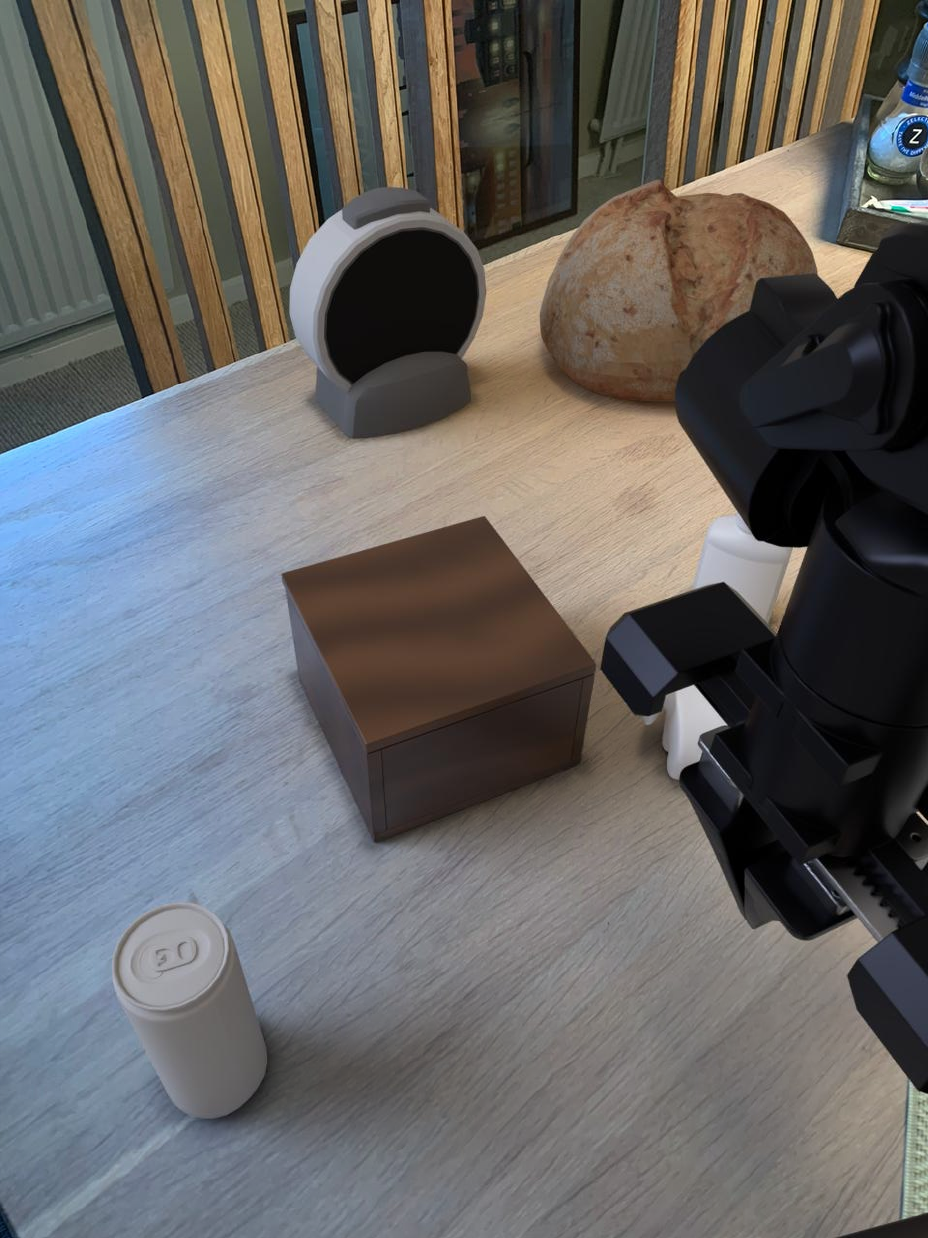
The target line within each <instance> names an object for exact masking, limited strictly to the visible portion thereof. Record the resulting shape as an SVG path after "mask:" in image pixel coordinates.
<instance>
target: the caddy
mask: <svg viewBox="0 0 928 1238" xmlns="http://www.w3.org/2000/svg"><path fill="white" fill-rule="evenodd" d="M285 596H286V603H287V608H288V615H289V621H290V629H291V635H292V641H293V649H294V654H295V655H294V656H295V662H296V668H297V675H298V681H299V683H300V685H301V688H302V690H303V692H304V694H305V696H306V698H307V700H308V703H309V705H310V707H311V710H312V711H313V713H314V716H315V718H316V720H317V722H318V725H319V726H320V729H321V731H322V733H323V736H324V737H325V740H326V742H327V744H328V746H329V747H330V750H331V753H332V754H333V757H334V759H335V761H336V763H337V766H338V767H339V771H340V772H341V774H342V776H343V778H344V780H345V782H346V785H347V787H348V789H349V791H350V794H351V796H352V798H353V800H354V802H355V804H356V806H357V809H358V811H359V813H360V815H361V818H362V819H363V821H364V824H365V826H366V828H367V831H368V832H369V834H370V838H371V839H372V841H373V843H374V844H375V843H378V842H380V841H383V840H386V839H388V838H390V837H391V838H392V837H393V836H396V835H398V834H401V833H404V832H407V831H409V830H412V829H414V828H417V827H420V826H422V825H425V824H427V823H430V822H433V821H435V820H437V819H440V818H443V817H447V816H448V815H451V814H453V813H456V812H459V811H461V810H464V809H466V808H470V807H471V806H474V805H476V804H480V803H482V802H484V801H487V800H490V799H492V798H495V797H498V796H500V795H504V794H506V793H509V792H511V791H513V790H516V789H518V788H519V789H520V788H521V787H524V786H526V785H529V784H532V783H534V782H537V781H539V780H543V779H544V778H548V777H550V776H552V775H556V774H559V773H560V772H564V771H565V770H568V769H572V768H573V767H576V766H578V765H581V762H582V754H583V749H584V744H585V738H586V732H587V731H586V730H587V725H588V718H589V713H590V706H591V702H592V701H591V700H592V696H593V695H592V694H593V688H594V682H595V677H596V675H595V674H596V673H594V674H591V675H588V676H585V677H583V678H580V679H577V680H574V681H571V682H568V683H566V684H563V685H560V686H557V687H554V688H551V689H549V690H546V691H543V692H540V693H537V694H534V695H532V696H529V697H526V698H523V699H520V700H517V701H514V702H512V703H509V704H506V705H503V706H500V707H497V708H495V709H492V710H489V711H486V712H483V713H480V714H478V715H475V716H472V717H469V718H466V719H463V720H461V721H458V722H455V723H452V724H449V725H446V726H443V727H441V728H438V729H435V730H432V731H429V732H426V733H424V734H421V735H418V736H415V737H412V738H409V739H407V740H404V741H401V742H398V743H395V744H392V745H390V746H387V747H384V748H381V749H378V750H375V751H373V752H370V753H367V752H366V751H365V749H364V747H363V745H362V743H361V741H360V739H359V737H358V735H357V733H356V731H355V729H354V727H353V724H352V722H351V720H350V718H349V716H348V714H347V712H346V710H345V708H344V706H343V704H342V702H341V700H340V698H339V696H338V694H337V692H336V690H335V688H334V686H333V684H332V682H331V680H330V678H329V676H328V674H327V672H326V670H325V668H324V666H323V664H322V662H321V660H320V658H319V656H318V654H317V652H316V649H315V647H314V645H313V643H312V641H311V639H310V637H309V635H308V633H307V631H306V629H305V627H304V625H303V623H302V621H301V619H300V617H299V615H298V613H297V611H296V609H295V607H294V605H293V603H292V601H291V599H290V597H289V595H288V593H287V591H286V590H285Z"/></svg>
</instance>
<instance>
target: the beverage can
mask: <svg viewBox="0 0 928 1238" xmlns="http://www.w3.org/2000/svg"><path fill="white" fill-rule="evenodd" d="M111 961H112V962H111V974H112V984H113V987H114V990H115V994H116V998H117V999H118V1001H119V1003H120V1005H121V1007H122V1009H123V1011H124V1012H125V1014H126V1017H127V1018H128V1020H129V1022H130V1024H131V1026H132V1028H133V1030H134V1033H135V1034H136V1036H137V1038H138V1039H139V1042H140V1043H141V1045H142V1047H143V1049H144V1051H145V1053H146V1055H147V1057H148V1059H149V1061H150V1063H151V1064H152V1067H153V1068H154V1071H155V1072H156V1074H157V1076H158V1078H159V1080H160V1081H161V1084H162V1086H163V1088H164V1089H165V1091H166V1093H167V1095H168V1097H169V1098H170V1100H171V1101H172V1102H173V1104H174V1105H175V1107H177V1109H178V1110H180V1111H182V1112H183V1113H184V1114H185V1115H188V1116H191V1117H193V1118H197V1119H207V1120H213V1119H218V1118H222V1117H225V1116H227V1115H228V1116H229V1114H231V1113H233V1112H235V1111H236V1110H238V1109H240V1108H241V1107H242V1106H243V1105H244V1104H245V1103H246V1102H248V1100H250V1099H251V1097H252V1096H253V1095H254V1094H255V1092H256V1091H257V1089H259V1087H260V1086H261V1083H262V1081H263V1079H264V1077H265V1075H266V1072H267V1065H268V1053H267V1052H268V1051H267V1046H266V1043H265V1038H264V1036H263V1032H262V1030H261V1026H260V1022H259V1019H258V1017H257V1013H256V1010H255V1006H254V1003H253V1000H252V997H251V993H250V990H249V987H248V982H247V980H246V977H245V974H244V971H243V967H242V964H241V960H240V957H239V954H238V951H237V947H236V944H235V941H234V939H233V936H232V934H231V932H230V930H229V928H228V927H227V926H226V925H225V924H224V922H223V921H222V919H220V918H219V916H218V915H217V914H216V913H215V912H214V911H212V910H211V909H209V908H208V907H206V906H204V905H200V904H198V903H195V902H194V903H193V902H188V901H187V902H185V901H175V902H171V903H165V904H161V905H159V906H157V907H154V908H152V909H149V910H148V911H146V912H144V913H143V914H141V915H140V916H138V918H136V919H134V920H133V922H132V923H130V925H128V927H127V928H126V929H125V930H124V931H123V932H122V935H121V936H120V938H119V940H118V942H117V943H116V946H115V948H114V951H113V955H112V959H111Z"/></svg>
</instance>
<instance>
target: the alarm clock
mask: <svg viewBox="0 0 928 1238" xmlns="http://www.w3.org/2000/svg"><path fill="white" fill-rule="evenodd" d="M485 271H486V270H485V266H484V264H483V261H482V258H481V256H480V253H479V251H478V248H477V247H476V246H475V244H474V243H473V242H472V240H471V239H470V238H469V236H468V235H467V234H466V233H465V232H464V230H462V229H461V228H460V227H458V226H456V225H455V224H454V223H453V222H451V221H450V220H448V219H447V218H446V217H445V216H443V215H442V214H441V213H439V212H438V211H436V209H433V208H432V207H431V201H430V200H429V199H427V198H426V197H425V196H424V195H422V194H421V193H420V192H418V191H417V190H414V189H410V188H405V187H395V186H386V187H385V186H384V187H383V186H382V187H376V188H373V189H370V190H368V191H365V192H363V193H361V194H359V195H357V196H355V197H354V198H352V199H351V200H350V201H348V202H347V203H346V204H345V205H344V206H343V207H342V209H340V210H339V211H337V212H336V213H335V214H333V215H331V216H330V217H328V219H326V221H325V222H324V223H323V224H322V225H321V226H320V227H319V228H318V229H317V231H316V232H315V233H314V234H313V235H312V236H311V237H310V238H309V240H308V242H307V243H306V245H305V247H304V249H303V251H302V253H301V255H300V257H299V259H298V260H297V262H296V265H295V269H294V273H293V275H292V276H293V277H292V280H291V283H290V288H289V317H290V321H291V325H292V329H293V333H294V337H295V339H296V340H297V341H298V343H299V345H300V347H301V349H302V350H303V351H304V353H305V356H307V357H308V358H309V359H310V361H311V362H312V363H313V364H314V365H315V366H316V377H315V379H316V380H315V397H314V401H315V403H317V404H318V406H319V407H320V408H321V409H322V410H323V411H324V412H325V413H326V414H327V416H328V418H330V420H332V422H333V423H334V424H335V425H336V426H337V427H338V428H339V430H340V431H341V432H342V433H343V434H344V435H345V437H348V438H351V439H358V438H359V439H360V438H375V437H381V436H386V435H387V436H388V435H393V434H398V433H402V432H403V433H404V432H407V431H410V430H414V429H418V428H422V427H425V426H427V425H430V424H432V423H435V422H437V421H440V420H442V419H444V418H446V417H448V416H450V415H452V414H454V413H455V412H458V411H459V410H461V409H463V408H464V407H465V406H466V405H468V404H469V403H470V402H472V394H471V386H470V378H469V371H468V370H469V369H468V363H467V362H466V361H465V360H464V359H463V357H464V356H465V354H466V353H467V351H468V349H469V348H470V347H471V345H472V343H473V341H474V339H475V338H476V335H477V333H478V329H479V327H480V324H481V322H482V319H483V316H484V311H485V304H486V297H487V282H486V272H485Z"/></svg>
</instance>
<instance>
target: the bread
mask: <svg viewBox="0 0 928 1238" xmlns="http://www.w3.org/2000/svg"><path fill="white" fill-rule="evenodd" d="M817 267H818V266H817V263H816V260H815V257H814V254H813V251H812V249H811V247H810V245H809V243H808V241H807V240H806V238H805V237H804V236H803V234H802V232H801V231H800V230H799V229H798V227H797V226H796V225H795V223H794V222H793V221H792V220H791V218H790V217H789V216H788V214H786V212H784V211H783V210H782V209H780V208H778V207H776V206H775V205H773V204H772V203H770V202H767V201H764V200H762V199H759V198H756V197H752V196H750V195H747V194H745V193H743V192H736V193H730V194H721V193H716V192H715V193H714V192H703V193H695V194H688V195H687V194H686V195H680V196H677V195H675V194H674V192H672V191H671V190H670V189H669V188H667V186H665V184H664V182H663V181H662V180H661V179H654V180H652V181H649V182H646V183H645V184H642V185H640V186H637V187H635V188H632V189H630V190H627V191H625V192H622V193H620V194H617V195H615V196H613V197H611V198H610V199H609V200H607V201H606V202H604V203H603V204H602V205H600V206H599V207H597V208H596V209H595V210H594V211H593V212H592V213H591V214H589V216H587V217H586V218H585V219H584V220H583V221H582V222H581V223H580V225H579V226H578V227H577V228H576V230H575V231H574V232H573V233H572V235H571V237H570V238H569V240H568V241H567V243H566V244H565V246H564V247H563V250H562V251H561V253H560V255H559V257H558V259H557V261H556V264H555V266H554V268H553V270H552V273H551V274H550V276H549V279H548V281H547V285H546V288H545V292H544V295H543V298H542V302H541V306H540V310H539V316H538V317H539V328H540V331H539V332H540V335H541V338H542V341H543V345H544V346H545V349H546V350H547V352H548V353H549V355H550V356H551V358H552V359H553V360H554V362H555V363H556V365H558V366H559V368H560V369H561V370H562V371H563V373H565V374H566V375H567V376H568V378H569V379H570V380H572V381H573V382H575V383H576V384H578V385H580V386H582V387H584V388H585V389H587V390H588V391H590V392H592V393H593V392H594V393H597V394H602V395H605V396H609V397H614V398H617V399H622V400H629V401H640V402H675V388H676V384H677V380H678V377H679V375H680V373H681V372H682V371H683V370H685V369H686V368H687V366H688V364H689V362H690V360H691V358H692V357H693V355H694V354H695V353H696V352H697V351H698V349H699V348H700V347H701V346H702V344H703V343H704V342H705V341H706V340H707V339H708V338H709V337H710V336H711V335H712V334H714V333H715V332H716V331H717V330H718V329H719V328H721V327H722V326H723V325H724V324H726V323H728V322H729V321H731V320H733V319H734V318H736V317H738V316H739V315H741V314H743V313H745V312H747V311H749V310H750V306H751V302H752V297H753V293H754V289H755V285H756V282H757V280H759V279H760V278H766V277H777V276H788V275H799V274H809V273H816V274H817V275H818V276H819V272H818V268H817Z"/></svg>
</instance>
